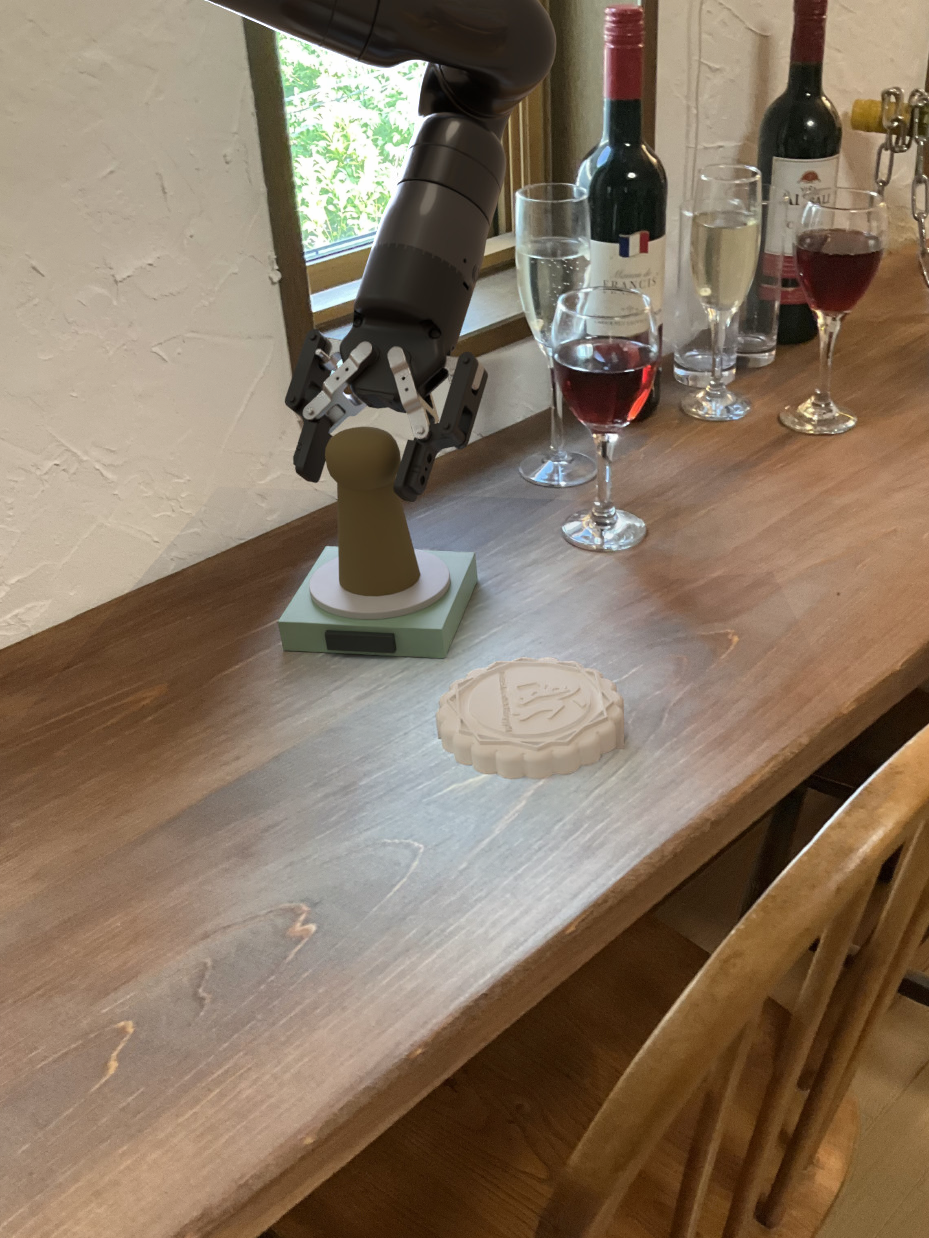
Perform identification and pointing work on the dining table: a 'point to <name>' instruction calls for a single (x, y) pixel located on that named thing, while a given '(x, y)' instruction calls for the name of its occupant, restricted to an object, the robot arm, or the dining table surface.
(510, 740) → the mooncake
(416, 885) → the dining table surface
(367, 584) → the cork
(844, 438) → the dining table surface
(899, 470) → the dining table surface
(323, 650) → the scale
